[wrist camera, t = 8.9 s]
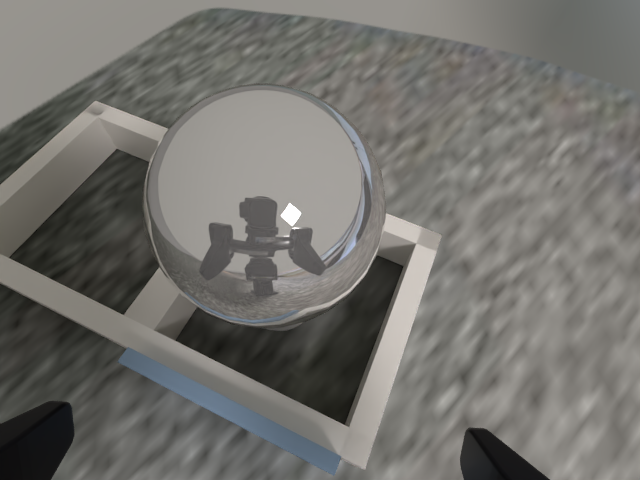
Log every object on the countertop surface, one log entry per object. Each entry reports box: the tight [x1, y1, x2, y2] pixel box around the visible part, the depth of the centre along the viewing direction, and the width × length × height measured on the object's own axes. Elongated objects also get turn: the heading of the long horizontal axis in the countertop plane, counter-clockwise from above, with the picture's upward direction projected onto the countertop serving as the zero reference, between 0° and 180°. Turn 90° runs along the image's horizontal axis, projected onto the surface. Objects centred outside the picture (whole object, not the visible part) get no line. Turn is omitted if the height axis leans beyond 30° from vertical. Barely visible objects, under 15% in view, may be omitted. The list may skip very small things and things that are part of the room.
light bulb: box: [142, 84, 387, 331], centre depth 13 cm, size 7×7×12 cm
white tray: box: [0, 101, 442, 475], centre depth 18 cm, size 11×21×4 cm, turn 66°
